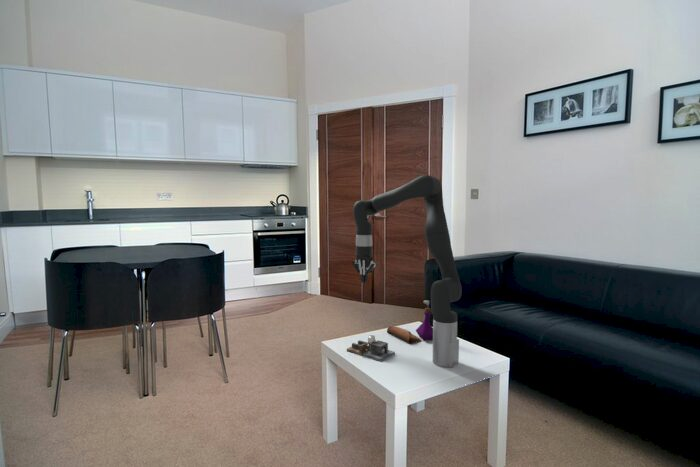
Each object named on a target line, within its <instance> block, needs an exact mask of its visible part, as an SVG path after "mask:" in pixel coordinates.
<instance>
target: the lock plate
mask: <svg viewBox="0 0 700 467" xmlns="http://www.w3.org/2000/svg"><path fill="white" fill-rule="evenodd" d="M366 345H368V341H367V342H366V341H363V340H357V343H356V342H353V343H351V346H350V347H347V348H346V352H349V353H353V354H355V355H358V356H363V357H365V358H368V359H372V360H375V361H378V362H383V361H385V360H387V359H389V358H391V357H392V356H395V354H396V353H395V351H393V350H390V349H389V343H388V342H386V341H383V340H376V339H375V342H373V343H371V351H370V350H366ZM382 348H385V353H383V354H382Z"/></svg>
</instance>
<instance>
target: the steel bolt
mask: <svg viewBox="0 0 700 467" xmlns="http://www.w3.org/2000/svg"><path fill="white" fill-rule="evenodd" d="M375 340H376V335H374V334H373V335H372V334H371V335H368V336H367V342H368V345H366V350H370V351H371V343H373V342H375ZM383 353H385V348H382V354H383Z"/></svg>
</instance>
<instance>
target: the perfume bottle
mask: <svg viewBox="0 0 700 467" xmlns="http://www.w3.org/2000/svg"><path fill="white" fill-rule="evenodd" d="M422 302H423V304H424V305H426V306H427V307H425V308H424V311H423V314H424V319H423V322H422V323H421V324H420V325H419V326H418V327H417V328H416V329H415V333H417V335H418V336H419V337H418V338H419V339H421V340H422V341H433V325H431V323H430V317H431V315H433V314H432V311H431V308H430V307H429V305H430V300H423V301H422Z"/></svg>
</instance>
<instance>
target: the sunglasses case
mask: <svg viewBox="0 0 700 467" xmlns="http://www.w3.org/2000/svg"><path fill="white" fill-rule="evenodd" d="M386 333H387V334H390V335H393V336H395V337H396V338H399V339H401V340H402V341H404V342H406V343H408V344H409V345H413V344H417V343H420V342H421V343H422V342H423V339H421V338H420V337H418V336H416V335H414V334H413V333H412V332H411V331H410V330H407V329H406V328H405V329H404V328H402V327H400V326H393V325H390V326H389V327H387V329H386Z"/></svg>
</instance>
